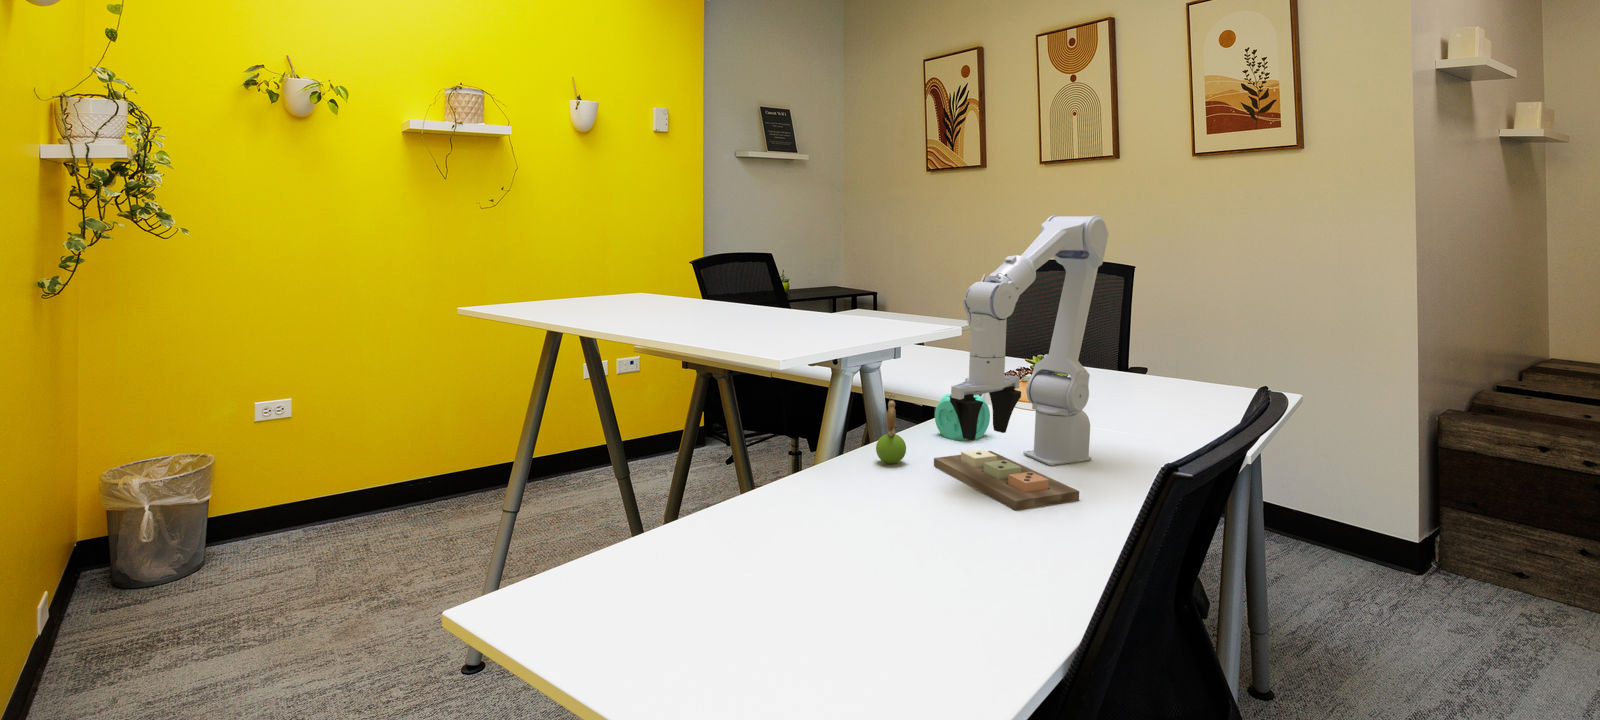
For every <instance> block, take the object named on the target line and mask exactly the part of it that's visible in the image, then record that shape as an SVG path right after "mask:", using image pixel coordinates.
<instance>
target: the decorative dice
mask: <svg viewBox="0 0 1600 720" xmlns="http://www.w3.org/2000/svg"><path fill="white" fill-rule="evenodd" d="M950 395H951V393H947V394H945V395H943V396H942V398H941V399H939V401H938V403H937V405H936V407H935V410H934V411H935V412H934V421H935V425H936V428H937V429H938V431H939V433H940V434H941V435H942V436H943V437H944V438H946V439H949V440H955V441H965V442H966V441H969V440H968V439H965V438H963V436H962V431H961V427H960V423H959V419H958V416H957V414H956V411H955V409H954V407H953V405H952V404H951V402H950ZM974 398H975V400H978V401H982V402H983V404H982V407H981V409H980V412H979V416H978V420H977V431H976V437H975V440H979V439H981V438H982V436H984V435H985V433H986V432H987V430H988V427H989V426H990V425H989V424H990V419H991V412H990V408H989V405H988V404H987V401H986V400H985V399H984V398H983V397H982V396H981V395H980V394H979V395H974ZM975 440H974V441H975Z"/></svg>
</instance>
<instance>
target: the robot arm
mask: <svg viewBox="0 0 1600 720" xmlns="http://www.w3.org/2000/svg"><path fill="white" fill-rule="evenodd" d="M1040 226H1041V227H1040V231H1039V235H1038V236H1037V237H1036V238H1035V239H1034V240H1033V242H1031V243H1030V245H1029V246H1028V247H1027V248H1026V249H1025V250H1024V252H1022V254H1021V255H1018V254H1016V255H1008V256H1007V257H1005V258H1004V262H1003V263H1002V264H1001V265H1000V266H998V267H997V269H995V270H994V271H993V272H990V274H989V275H988V276H987V277H986V278H985V279H984V281H976V282H974V283H973V284H972V285H970V286H969V287H968V288H967V290H966V293H965V295H964V296H965V297H964V298H963V301H962V304H963V309H964V311H965V313H966V314H967V324H968V326H969V327H970V329H969V331H970V332H969V335H970V336H969V337H970V338H969V359H968V360H969V366H968V377H965V378H964V379H965V380H964V381H963V382H960V383H958V384H954V385H951V387H950V388H951V389H950V390H951V391H950V394H951V395H950V402H951V404H952V405H953V407H954V409H955V411H956V414H957V416H958V419H959V423H960V427H961V431H962V436H963V438H965V439H968V440H967V441H975V437H976V431H977V420H978V416H979V412H980V409H981V407H982V404H983V402H982V401H978V400H975V398H974V395H979V396H980V395H983V394H989V397H990V402H991V410H992V426H993V431H994V432H997V433H1002V434H1005V433H1006V432H1007V429H1008V426H1009V423H1010V419H1011V416H1012V414H1013V411H1014V409H1015V407H1016V405H1017V404H1018V402H1019V401H1020V399H1021V398H1022V391H1021V390H1017V389H1020V382H1021V381H1020V380H1021V379H1020V376H1016V375H1005V370H1006V368H1005V367H1006V348H1007V347H1006V345H1007V344H1006V342H1007V340H1006V339H1007V323H1008V322H1007V321H1008V320H1007V319H1008V318H1009V317H1010V316H1011V315H1013V313H1014V310H1015V308H1016V304H1017V302H1018V301H1019V299H1020V295H1022V294H1023V293H1024V292H1025V291H1026V290H1027V289H1028V288H1029V287H1030V285H1032V284H1033V283H1034V282H1035V281H1036V279H1037V272H1036V271H1037V270H1038V269H1039V268H1041V267H1042V266H1043V265H1044V264H1046V263H1047V262H1048V261H1049V260H1051V259H1052V258H1053V259H1054V260H1055V261H1056V263H1057V264H1060V265H1061V266H1062V267H1063V268H1064V270H1065V277H1064V281H1063V286H1062V290H1061V295H1060V300H1059V303H1058V308H1057V309H1058V310H1057V314H1056V319H1055V324H1054V327H1053V331H1052V332H1053V333H1052V337H1051V341H1050V345H1049V346H1050V347H1049V351H1048V354H1047V355H1046V356H1045V357H1044V358H1042V359H1040V360H1039V361H1037V362H1036V363H1035V364H1034V367H1033V371H1032V374H1031V376H1030V377H1029V379H1028V381H1027V384H1026V388H1025V391H1026V396H1027V397H1026V398H1027V400H1028V401H1029V403H1030V404H1031V407H1032V408H1031V409H1032V410H1035V417H1034V418H1035V420H1034V440H1033V450H1026V451H1023V455H1025V456H1027V457H1029V458H1032V459H1034V460H1036V461H1039V462H1041V463H1043V464H1046V465H1048V466H1056V465H1063V464H1071V463H1078V462H1086V461H1092V456H1090V454H1089V453H1090V441H1091V440H1090V439H1091V438H1090V437H1091V422H1090V419H1089V416H1088V415H1087V413H1086V412H1085V411H1083V410H1084V408H1085V407H1086V406H1087V404H1088V402H1089V397H1090V389H1089V382H1090V377H1091V375H1090V373H1089V372H1088V370H1087V369H1086V368H1085V367H1084V366H1083V365H1082V364H1081V363H1080V361H1079V358H1080V353H1081V349H1082V344H1083V339H1084V335H1085V330H1086V325H1087V321H1088V316H1089V312H1090V306H1091V303H1092V297H1093V293H1094V288H1095V283H1096V279H1097V274H1098V269H1099V267H1101V266H1102V265H1103V263H1104V257H1105V253H1106V248H1107V245H1108V239H1109V236H1110V235H1109V231H1108V228H1107V226H1106V223H1105V221H1104V219H1103V218H1102V216H1100V215H1091V216H1088V215H1087V216H1081V215H1079V216H1077V215H1076V216H1075V215H1073V216H1070V215H1069V216H1065V215H1063V216H1062V215H1060V216H1059V215H1051V216H1049V217H1048V218H1047V219H1046V220H1045V221H1044V222H1042V223H1041V225H1040ZM1058 374H1059V375H1058ZM1060 374H1062V375H1060ZM1063 374H1064V375H1063ZM1065 375H1068V376H1065Z"/></svg>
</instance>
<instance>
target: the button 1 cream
mask: <svg viewBox="0 0 1600 720" xmlns="http://www.w3.org/2000/svg"><path fill="white" fill-rule="evenodd" d="M987 451H988V450H985V449H983V448H981V449H973V450H971V449H970V450H966V451H965V450H964V451H960V455H961V461H962V462H964V463H966V464H968V465H970V466H972V467H974V468H975V467H983V466H984V463H986V462H993V461H997V456H996V455H994V454H992V453H990V452H987Z"/></svg>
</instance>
